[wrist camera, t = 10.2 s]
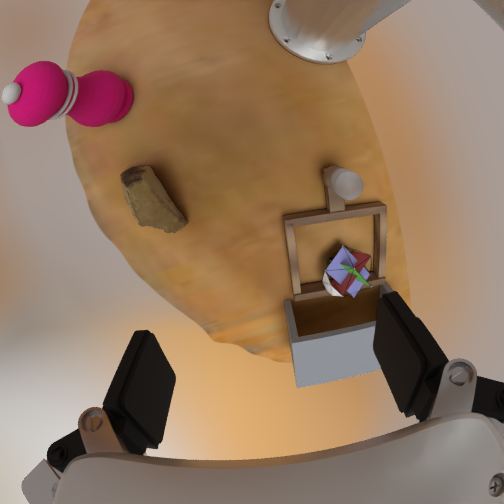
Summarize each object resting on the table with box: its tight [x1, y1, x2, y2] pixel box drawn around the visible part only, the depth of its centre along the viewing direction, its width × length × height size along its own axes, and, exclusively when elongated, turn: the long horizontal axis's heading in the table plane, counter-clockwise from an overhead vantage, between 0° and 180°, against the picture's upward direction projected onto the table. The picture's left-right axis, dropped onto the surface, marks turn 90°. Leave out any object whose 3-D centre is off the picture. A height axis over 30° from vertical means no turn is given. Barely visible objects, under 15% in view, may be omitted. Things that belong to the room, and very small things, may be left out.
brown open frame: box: [283, 165, 387, 301], centre depth 33 cm, size 18×14×7 cm
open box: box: [284, 281, 393, 388], centre depth 38 cm, size 10×17×10 cm, turn 100°
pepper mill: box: [2, 61, 133, 127], centre depth 19 cm, size 7×7×20 cm
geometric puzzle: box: [322, 245, 372, 298], centre depth 36 cm, size 7×7×8 cm
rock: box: [120, 165, 188, 233], centre depth 32 cm, size 11×9×10 cm
